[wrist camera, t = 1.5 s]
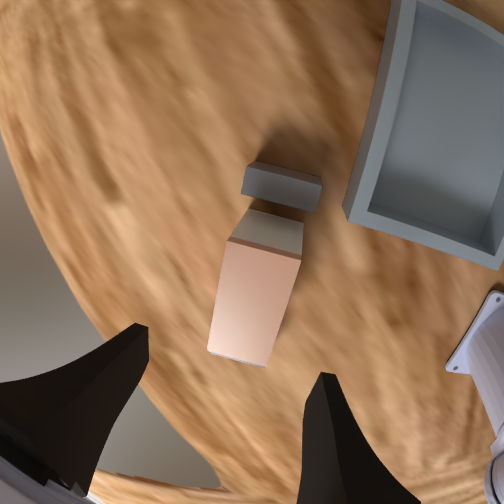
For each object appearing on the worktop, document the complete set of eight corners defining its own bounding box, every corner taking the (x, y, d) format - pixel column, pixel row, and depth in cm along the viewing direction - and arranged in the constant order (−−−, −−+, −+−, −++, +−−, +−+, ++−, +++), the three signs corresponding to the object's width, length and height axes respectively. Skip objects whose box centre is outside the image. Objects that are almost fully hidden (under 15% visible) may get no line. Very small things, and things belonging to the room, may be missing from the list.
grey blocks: (320, 177, 18) (322, 186, 16) (269, 345, 23) (264, 368, 21) (254, 160, 18) (246, 166, 16) (218, 331, 24) (209, 352, 21)
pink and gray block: (303, 222, 19) (301, 260, 14) (276, 313, 22) (265, 366, 17) (248, 208, 19) (227, 240, 14) (228, 300, 22) (207, 350, 17)
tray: (526, 73, 12) (551, 71, 9) (478, 251, 18) (497, 271, 15) (391, 1, 12) (403, -17, 10) (342, 206, 18) (347, 221, 16)
